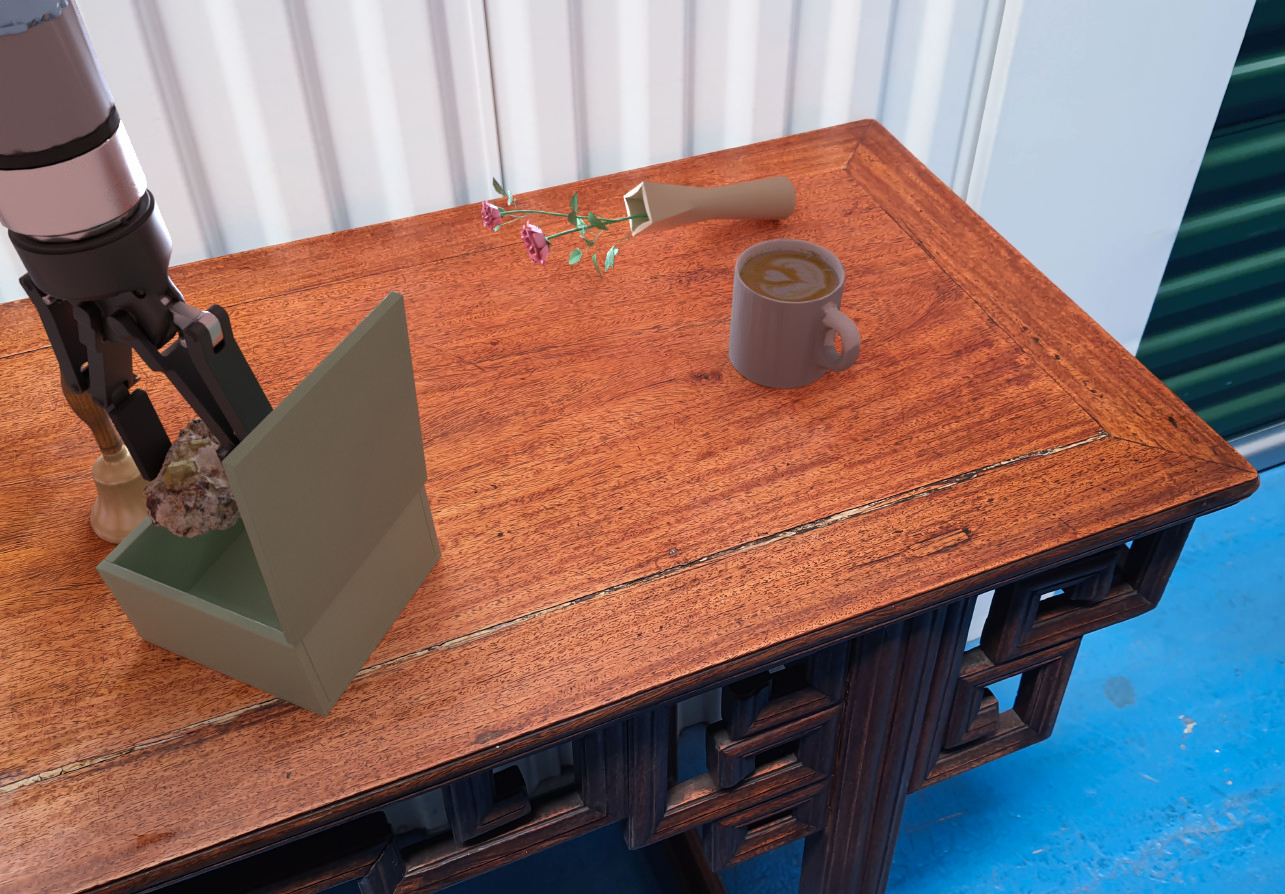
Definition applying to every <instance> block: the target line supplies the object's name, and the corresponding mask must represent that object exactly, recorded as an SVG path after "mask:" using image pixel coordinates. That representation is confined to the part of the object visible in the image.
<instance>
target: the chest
mask: <svg viewBox="0 0 1285 894" xmlns="http://www.w3.org/2000/svg"><path fill="white" fill-rule="evenodd" d="M441 558H442V551H441V547H440V543H439V538H438V535H437V530H436V527H435V522H434V517H433V513H432V509H431V505H430V502H429V497H428V494H427V489H426V486H425V484H424V485H423V486H422V488H421V489H420V490H419V492H418V493H417V494H416V495H415V497H414V498H413V499H412V501H411V502H410V503H409V504H408V506H407V507H406V508H405V509H404V511H403V512H402V513H401V515H400V516H399V517H398V518H397V520H396V521H395V522H394V523H393V525H392V526H391V527H390V529H389V530H388V531H387V532H386V534H385V535H384V536H383V538H382V539H381V540H380V541H379V543H378V544H377V545H376V546H375V548H374V549H373V550H372V552H371V553H370V554H369V555H368V557H367V558H366V559H365V561H364V562H363V563H362V564H361V566H360V567H359V568H358V569H357V571H356V572H355V573H354V575H353V576H352V577H351V578H350V580H349V581H348V582H347V583H346V585H345V586H344V587H343V589H342V590H341V591H340V592H339V594H338V595H337V596H336V598H335V599H334V600H333V601H332V603H331V604H330V605H329V606H328V608H327V609H326V610H325V612H324V613H323V614H322V615H321V617H320V618H319V619H318V621H317V622H316V623H315V624H314V626H313V627H312V628H311V629H310V631H309V632H308V633H307V635H306V636H305V637H304V638H303V640H302V641H301V642H300V643H299V645H298V646H297V647H296V646H294V645H292V644H289V643H287V642H286V639H285V636H284V633H283V630H282V628H281V625H280V622H279V619H278V617H277V614H276V611H275V608H274V606H273V603H272V600H271V597H270V595H269V592H268V589H267V586H266V584H265V581H264V578H263V575H262V572H261V570H260V567H259V564H258V561H257V559H256V556H255V553H254V550H253V548H252V545H251V542H250V539H249V537H248V534H247V531H246V528H245V526H244V523H243V520H242V518H240V517H238V519H237V523H236V524H235V525H233V526H231V527H229V528H227V529H225V530H221V529H217V530H210V531H209V532H207V533H205V534H204V535H202V534H199V535H197V536H193V537H192V538H189V537H187V536H183V537H179V536H178V535H175V534H172V533H171V532H169V531H168V529H167V528H166V527H163V526H160V527H157V526H156V525H154V524H152V521H151V519H150V517H149V515H148V516H147V517H146V518H145V519H144V520H143V521H142V522H141V523H140V524H139V525H138V526H137V527H136V528H135V529H134V530H133V531H132V532H131V533H130V534H129V535H128V536H127V537H126V538H125V539H124V540H123V541H122V542H121V543H120V544H117V546H115V547H114V549H113V550H112V551H110V553H108V554H107V555H106V556H105V557H104V558H103V560H101V561H100V562H99V563H98V564H97V565H96V566H95V570H96V572H97V573H98V574H99V576H100V578H101V579H102V581H103V582H104V584H105V585H106V587H107V588H108V589H109V591H110V592H111V594H112V596H113V597H114V599H115V600H116V602H117V604H118V605H119V607H120V608H121V609H122V611H123V612H124V614H125V616H126V617H127V618H128V620H129V622H130V624H131V625H132V626H133V628H134V629H135V631H136V632H137V634H138V635H139V636H140V638H141V640H142V641H145V642H148V643H150V644H152V645H155V646H157V647H160V648H161V649H164V650H166V651H168V652H171V653H173V654H176V655H178V656H180V657H183V658H185V659H187V660H189V661H192V662H194V663H197V664H198V665H201V666H204V667H206V668H208V669H211V670H213V671H215V672H217V673H219V674H223V675H225V676H227V677H229V678H232V679H233V680H237V681H239V682H241V683H244V684H245V685H248V686H251V687H253V688H255V689H258V690H259V691H262V692H265V693H266V694H269V695H271V696H274V697H276V698H278V699H281V700H283V701H285V702H288V703H291V704H293V705H295V706H297V707H300V708H302V709H305V710H306V711H309V712H311V713H313V714H316V715H318V716H321V717H322V718H327V717H328V715H329V714H330V712H331V711H332V710H333V709H334V707H335V706H336V704H337V703H338V701H339V700H340V699H341V697H342V696H343V695H344V693H345V691H347V689H348V687H349V686H350V685H351V683H352V682H353V680H354V679H355V678H356V676H357V675H358V674H359V672H360V671H361V669H362V668H363V666H364V665H365V664H366V662H367V661H368V659H369V658H370V657H371V656H372V654H373V653H374V651H375V650H376V648H378V646H379V645H380V643H381V642H382V640H383V639H384V637H385V636H386V634H387V633H388V632H389V630H390V629H391V627H392V626H393V625H394V623H396V621H397V619H398V618H399V617H400V615H401V613H402V612H403V611H404V610H405V608H406V607H407V605H408V604H409V602H410V601H411V600H412V598H413V597H414V596H415V594H416V593H417V591H418V590H419V589H420V587H421V586H422V584H423V583H424V582H425V580H426V579H427V577H428V576H429V575H430V573H431V572H432V571H433V569H434V567H436V565H437V563H438V562H439V561H440V560H441Z"/></svg>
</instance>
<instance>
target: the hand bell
mask: <svg viewBox="0 0 1285 894" xmlns="http://www.w3.org/2000/svg"><path fill="white" fill-rule="evenodd" d="M58 367H59V376H60V387H61V392H62V394H63V397H64V398H65V401H66V402H67V404H68V406H69V407H70V408H71V410H72V412H73V414H75V415H76V416H77V418H78V419H80V420H81V421H82V422H83V423H85V424H86V425H87V426H88V428H89V429H90V431H91V432H92V434H93V437H94V440H95V441H96V444H97V445H98V448H99V450H100V452H101V453H100V455H99V456H98V457H97V458H96V459H95V461H94V462H93V464H92V467H91V476H92V479H93V482H94V485H95V487H96V491H97V497H96V498H95V499H94V502H93V504H92V506H91V510H90V518H89V521H90V526H91V527H90V528H92V531H93V532H94V534H95V535H96V536H97V537H98V538H100V539H101V540H103V541H105V542H108V543H111V544H115V545H119V544H120V543H121V542H122V541H123V540H124V539H125V538H126V537H127V536H128V535H129V534H130V533H131V532H132V531H133V530H134V529H135V528H136V527H137V526H138V525H139V524H140V523H141V522H142V521H143V520H144V519H145V518H146V517H147V516H148V513H147V511H146V508H145V507H146V500H147V498H144V497H143V496H142V495H141V494H142V493H143V492H144V489H145V487H146V486H147V485H148V484H149V483H150V481H147V480H144V479H143V477H142V475H141V473H140V472H139V470H138V468H137V466H136V464H135V462H134V460H133V459H132V457H131V455H130V453H129V451H128V449H127V448H126V446H125V444H124V442H123V440H122V438H121V436H120V435H119V433H118V431H117V430H116V428H115V426H114V424H113V423H112V420H111V419H110V417H109V415H108V413H107V412H106V410H105V409H102V408H100V407H99V406H97V405H96V404H95V403H94V402H93V400H92V397H91V394H89V393H88V392H86V391H85V392H84V393H83V394H82V395H78V394H76V393H74V392H72V391H71V390H70V388H69V387H68V385H67V383H66V381H65V378H64V376H63V373H62V371H61V368H60V366H59V365H58ZM84 367H85V365H84V364H83V365H82V367H81V370H82V369H83V368H84ZM156 479H157V478H156Z"/></svg>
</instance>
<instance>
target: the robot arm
mask: <svg viewBox="0 0 1285 894" xmlns="http://www.w3.org/2000/svg"><path fill="white" fill-rule="evenodd" d="M111 91H112V90H111V89H110V87H109V83H108V81H107V79H106V76H105V74H104V71H103V69H102V65H101V63H100V61H99V58H98V56H97V54H96V51H95V47H94V46H93V43H92V41H91V38H90V35H89V33H88V30H87V27H86V25H85V22H84V20H83V18H82V15H81V13H80V9H79V7H78V5H77V2H76V0H0V224H1V226H2V227H4V228H6V229H7V235H8V238H9V240H10V242H11V244H12V246H13V248H14V250H15V252H16V253H17V255H18V257H19V259H20V261H21V262H22V264H23V266H24V269H25V270H26V272H25V273H24V274H23V275H22V276H20V277H19V278H18V283H19V285H20V286H21V288H22V289H23V291H24V292H25V294H26V295H27V296H28V298H29V299H30V301H31V302H32V304H33V305H34V307H35V308H36V311H37V313H38V316H39V319H40V321H41V323H42V326H43V328H44V331H45V333H46V336H47V339H48V341H49V343H50V346H51V348H52V351H53V353H54V355H55V358H56V361H57V364H58V367H59V366H60V368H61V371H62V373H63V376H64V378H65V381H66V383H67V385H68V387H69V388H70V390H71V391H72V392H74V393H76V394H78V395H82V394H83V393H84V392H85V391H86V392H88V393H89V394H91V397H92V400H93V402H94V403H95V404H96V405H97V406H99V407H100V408H102V409H105V410H106V412H107V413H108V415H109V417H110V420H111V422H112V424H113V426H114V428H115V429H116V431H117V433H118V434H119V437H120V438H121V439H122V441H123V445H125V446H126V448H127V449H128V451H129V453H130V455H131V457H132V459H133V460H134V462H135V464H136V466H137V468H138V470H139V472H140V473H141V475H142V477H143V479H144V480H147V481H150V482H151V481H153V480H155V479H156V478H157V477H158V474H159V473H160V470H161V469H162V467H163V466H162V465H163V464H164V462H165V458H166V455H167V453H168V452H169V449H170V448H171V446H172V444H173V443H172V442H171V439H170V437H169V435H168V433H167V431H166V428H165V427H164V425H163V423H162V421H161V419H160V417H159V415H158V413H157V411H156V409H155V407H154V404H153V403H152V401H151V398H150V396H149V395H148V392H147V391H146V390H144V389H142V388H138V387H137V388H135V389H134V390H133V391H132V392H130V390H131V389H132V388H133V387H134V386H135V385H136V384H137V383H138V382H140V381H141V380H142V377H140V376H139V377H138V375H137V374H135V373H134V363H133V350H134V351H135V353H136V354H137V355H138V356H139V358H141V360H142V361H143V362H144V363H145V365H146V366H147V367H148V369H150V371H151V372H154V373H160V372H161V373H163V375H164V376H165V377H166V378H167V379H168V381H169V382H170V383H171V384H172V385H173V387H174V388H175V389H176V390H177V392H178V393H179V395H181V396H182V398H183V399H184V400H185V401H186V403H187V404H188V405H189V406H190V408H191V409H192V410H193V412H194V413H195V414H196V415H197V417H198V418H199V419H201V420H202V421H203V422H204V423H205V425H206V426H207V427H208V428H209V430H210V431H211V432H212V433H213V434H214V436H215V437H216V438H217V439H218V441H219V442H220V443H221V444H222V445H221V446H220V447H219V448H218V449H217V450H216V453H217V457H218V458H219V460H220V462H221V464H222V461H223V460H224V459H225V458H226V457H227V456H228V455H229V454H230V453H231V452H232V451H233V450H234V449H235V448H236V447H237V446H238V445H239V444H240V443H241V442H242V441H243V440H244V439H245V438H246V437H247V436H248V435H249V434H250V433H251V432H252V431H253V430H254V429H255V428H256V427H257V426H258V425H259V424H260V423H261V422H262V421H263V420H264V419H265V418H266V417H267V416H268V415H269V414H270V413H271V412H272V411H273V410H274V408H273V406H272V404H271V402H270V400H269V399H268V397H267V395H266V393H265V392H264V390H263V388H262V386H261V383H260V382H259V380H258V378H257V377H256V375H255V373H254V371H253V369H252V368H251V366H250V364H249V362H248V360H247V358H246V357H245V355H244V353H243V351H242V349H241V348H240V345H239V344H238V342H237V340H236V339H235V337H234V333H233V328H232V322H231V319H230V315H229V314H228V311H227V309H225V308H224V307H223V306H222V305H220V304H217V303H212V304H211V305H210V306H209V307H208V308H207V309H205V310H202V309H199V308H197V307H195V306H193V305H190V304H188V303H187V302H186V299H185V297H184V295H183V294H182V292H181V291H180V290H179V289H178V288H177V287H176V285H175V284H174V282H173V281H172V279H171V278H170V276H169V268H170V261H171V256H172V253H173V241H172V238H171V235H170V233H169V230H168V228H167V226H166V222H165V221H164V218H163V215H162V214H161V211H160V208H159V205H158V204H157V202H156V199H155V196H154V194H153V192H152V191H151V190H150V189H148V188H147V179H146V176H145V173H144V172H143V170H142V166H141V165H140V163H139V160H138V158H137V156H136V153H135V150H134V148H133V146H132V144H131V141H130V138H129V136H128V134H127V131H126V129H125V126H124V124H123V122H122V120H121V117H120V114H119V111H118V109H117V106H116V103H115V99H114V96H113V94H112V92H111ZM177 335H178V337H177V339H176V340H175V341H173V342H172V343H171V344H170V345H169V346H168V347H166V349H164V350H163V351H162V352H160V351H159V350H161V349H162V348H164V347H165V346H166V345H167V344H168V343H170V341H172V339H174V338H175V336H177ZM86 363H87V365H85V366H84V364H86ZM82 365H83V366H84V368H83V369H82V370H81V367H82ZM60 368H59V369H60ZM222 467H223V465H222ZM223 469H224V468H223ZM224 471H225V470H224Z"/></svg>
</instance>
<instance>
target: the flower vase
mask: <svg viewBox="0 0 1285 894" xmlns="http://www.w3.org/2000/svg"><path fill="white" fill-rule="evenodd" d="M492 185H493V188H494V190H495V192H496V193H497V194H498V195H501V196H505V197H507V206H511V204H512V203H513V205H514V208H515V209H514V210H508V211H506V210H505V208H504V207H500V206H497V204H496V201H493V204H492V203H489V201H488V200H486V199H484V200H483V201H482V208H481V212H480V213H481V215H482V216H481V219H482V221H483V223H482V224H483V227H485V228H487V229H488V230H489V231H491V232H496V233H497V232H498V231H499V230H500V228H501V226H504V225H507V224H509V223H512V222H516V221H517V220H520V219H522V218H524V217H527V216H529V215H532V214H541V215H548V216H549V215H550V216H555V217H556V216H557V217H561V218H562V217H563V218H567V222H568V223H569V224H571V225H572V226H574V227H575V228H571V229H568V230H565V231H562V232H559V233H556V234H552V235H549V236H546V235H545V233H544V232H543V231H542V229H541V228H540V224H539V222H537V226H536V225H533V224H531V223H530V220H529V219H528V220H527V221H526V226H525V225H524V224H523V225H522V227H523V230H521V231H520V235H521V240H522V241H523V246H524V249H525V250H526V251H528V258H529V259H530V260H531V263H533V264H537V265H538V266H540V267H544V268H546V267H547V265H546V264H547V263H546V261H547V258H548V256H549V253H550V254H552V255H553V256H555V254H554V253H553V252H552V251H551V248H550V246H551V245H552V244H553V242H550V241H549V240H551V239H555V238H559V237H562V236H566V235H569V234H571V233H576V232H577V233H578V232H579V233H580V234H579V237H580V238H581V239H582V240H583V241H584V243H585V245H586V246H587V249H586V250H585V251H583V252H582V251H581V250H580V248H579V247H576V248H574V249H573V250H572V251H571V252H570V254H569V258H568V262H567V263H568V264H569V265H575V264H577V263H579V262H580V261H581V259H582V256H583V255H584V253H586V252H587V251H589V249H590V247H591V248H593V246H594V245H597V238H598V237H599V236H600V235H601V234H602V233H603V232H604V231H609V228H608V227H610V226H611V225H612V224H615V223H620V222H625V221H628V222H629V226H630V232H629V233H628V234H627V235H626V236H625V237H623V238H622V239H621V240H619V241H618V242H616V244H614V245H613V246H612V247H611V248H609V250H608V251H607V254H606V256H605V257H606V258H605V261H604V273H607V272H608V270H609V268H610V267H611V268H612V269H613V270H614V269H615V257H616V256H617V254H618V253H619V249H620V248H621V247H623V246H625V243H627V242H628V241H629V238H630V235H632V238H635V237H637V236H643V235H646V234H647V235H648V234H652V233H655V232H661V231H666V230H669V229H670V230H671V229H674V228H680V227H684V226H689V225H693V224H698V223H702V222H707V221H713V220H714V221H715V220H729V221H730V220H736V221H737V220H741V221H742V220H743V221H745V220H746V221H748V220H750V221H752V220H756V221H758V220H760V221H761V220H762V221H766V220H769V221H770V220H773V221H775V220H776V221H779V220H783V221H784V220H785V221H786V220H787V219H789V218H790V217H791V216H792V215H793V213H794V210H795V208H796V204H797V193H796V189H795V187H794V183H793V181H792V180H791V179H789V178H788V177H787V176H786V175H777V176H771V177H767V178H761V179H755V180H749V181H743V182H738V183H732V184H726V185H718V186H712V187H703V186H702V187H700V186H691V185H683V184H682V185H681V184H672V183H665V182H664V183H662V182H653V181H646V180H645V181H643V180H642V181H641V182H640V183H639V184H637V185H636V186H635V187H633V188H632V189H631V190H630V191H628V192H627V193H626V194H624V195H623V201H624V205H625V208H626V214H627V216H625V217H624V216H623V217H620V218H615V219H612V218H611V219H610V218H604V217H603V216H602V215H599V214H597V213H593V212H592V211H588V214H587V215H588V216H583V215H579V209H578V208H579V207H578V206H579V199H578V191H575V193H574V194H572V196H571V198H570V201H569V207H570V208H571V211H570V212H569V213H568V214H564V213H557V212H549V211H542V210H532V209H527V210H526V209H525V210H522V209H521V210H517V206H516V204H515V203H516V198H514V197H513V195H512V192H511V190H507V193H506V192H505V191H504V188H502V186H501V185H500V184H499V182H498V181H497V179H496V178H495V177H494V176H493V177H492ZM520 213H521V214H525V213H526V214H525V215H522V216H518V215H513V214H520ZM505 216H506V217H512V218H513V217H514V218H515V219H513V220H510V221H508V222H505V223H502V220H503V219H504V217H505ZM597 216H598V217H597ZM583 220H587V222H588V223H589V224H586V223H585V222H584V221H583ZM606 225H607V226H606ZM528 228H529V229H528ZM593 228H596V229H597V230H601V231H600V232H599V234H595V233H593V232H592V231H591V230H588V229H593ZM587 232H589V233H591V234H592V235H593V236H596V237H595V238H594V239H593V241H592V240H590V239H588V238H586V237H585V236H586V233H587ZM626 238H627V239H626ZM625 239H626V241H625V243H623V244H621V245H620V246H618V248H615V247H616V246H617V245H618V244H619V243H620V242H622V241H623V240H625ZM597 250H598V249H597V246H595V252H594V254H593V255H591V260H592V261H591V262H592V264H593V266H594V268H595V270H596V272H597V273H598V275H599V277H600V278H601V279H603V276H602V273H601V271H600V268H599V265H598V262H597V261H598V260H597V253H598V251H597Z"/></svg>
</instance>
